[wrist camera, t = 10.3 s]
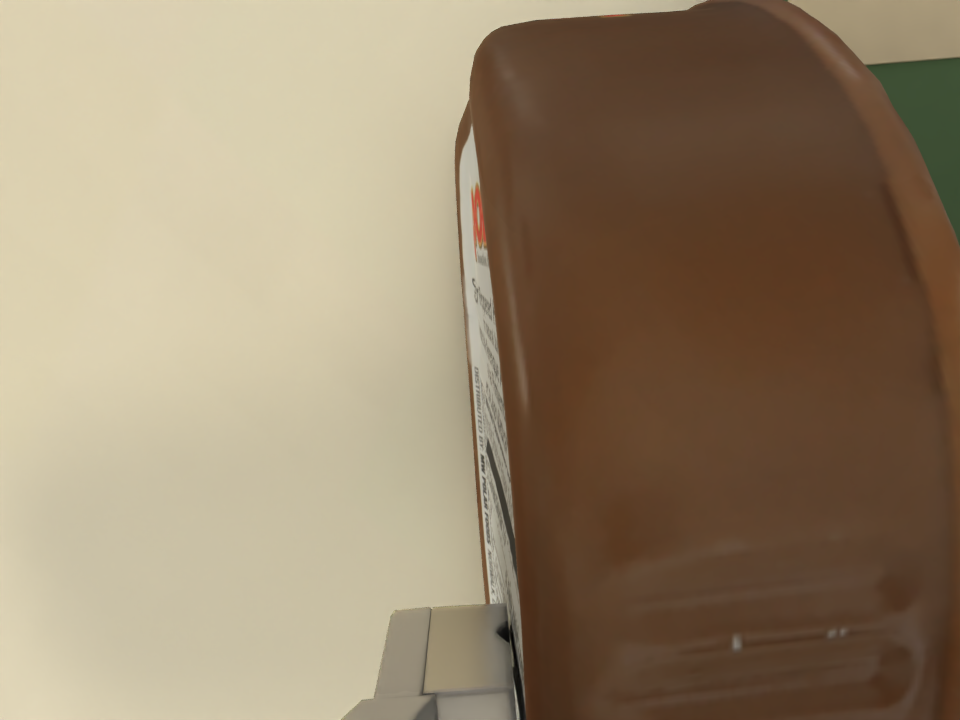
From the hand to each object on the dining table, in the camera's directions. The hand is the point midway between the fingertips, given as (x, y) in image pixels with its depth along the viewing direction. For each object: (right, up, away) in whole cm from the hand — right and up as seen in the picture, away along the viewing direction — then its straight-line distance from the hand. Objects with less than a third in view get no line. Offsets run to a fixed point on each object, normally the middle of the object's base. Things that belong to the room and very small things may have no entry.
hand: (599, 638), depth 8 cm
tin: (-1, +1, +4) cm, 4 cm away
